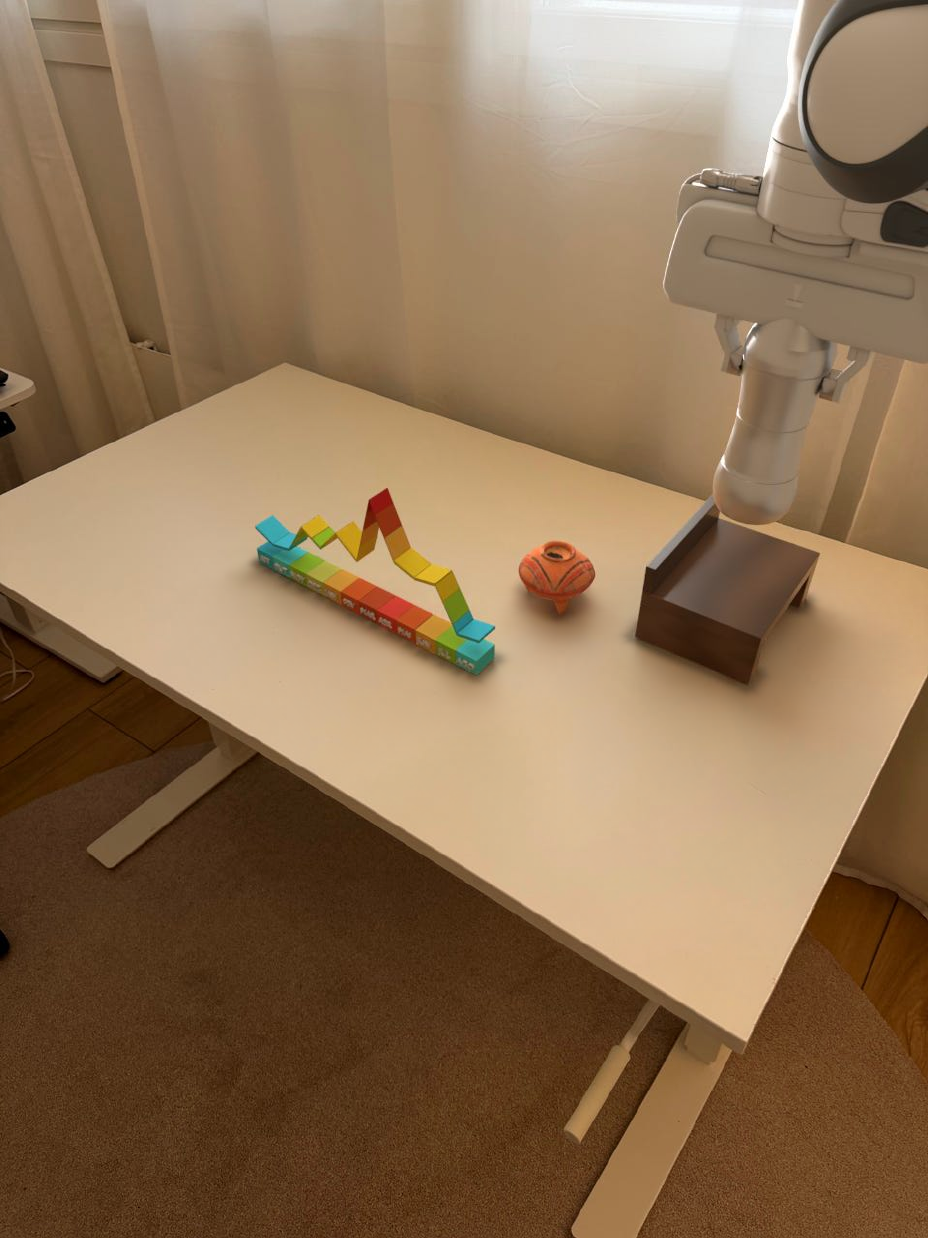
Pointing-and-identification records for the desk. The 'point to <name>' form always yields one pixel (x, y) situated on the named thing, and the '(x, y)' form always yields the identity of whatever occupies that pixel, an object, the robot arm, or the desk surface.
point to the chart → (374, 603)
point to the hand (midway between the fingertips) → (781, 384)
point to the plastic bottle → (771, 419)
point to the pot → (556, 572)
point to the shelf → (721, 592)
